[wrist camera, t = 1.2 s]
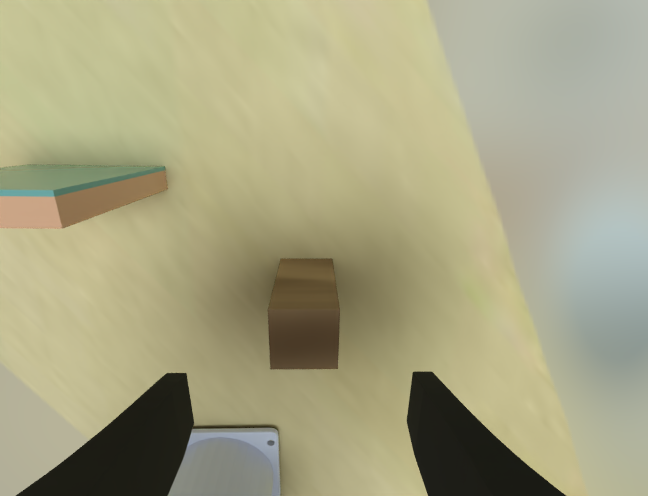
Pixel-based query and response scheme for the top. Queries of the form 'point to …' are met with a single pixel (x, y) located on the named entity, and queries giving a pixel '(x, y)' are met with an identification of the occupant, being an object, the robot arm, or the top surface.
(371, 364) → the top surface
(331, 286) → the block
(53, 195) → the tile
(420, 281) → the top surface
